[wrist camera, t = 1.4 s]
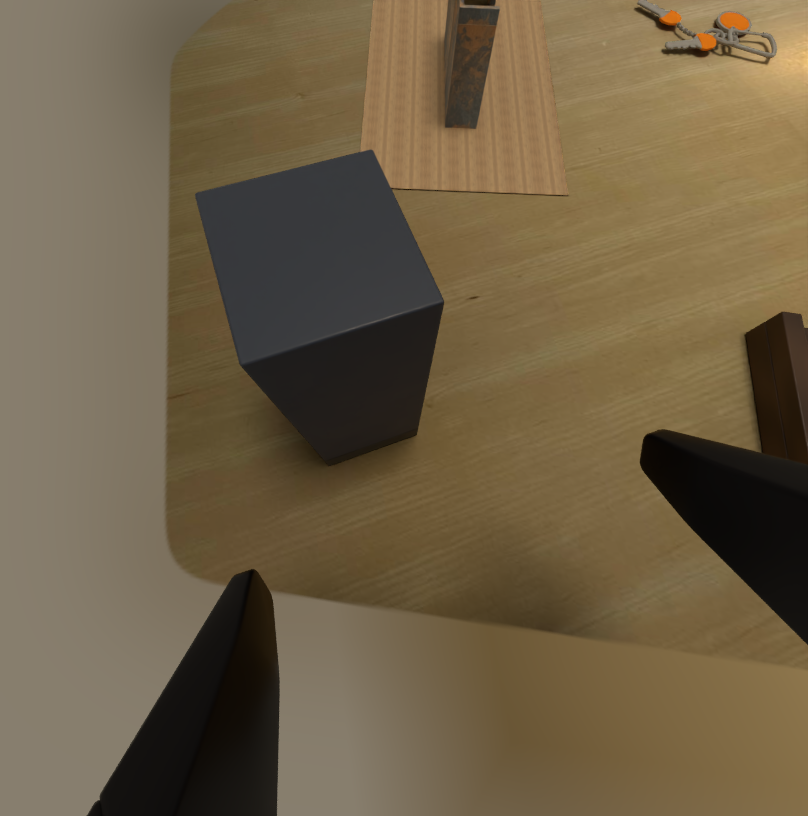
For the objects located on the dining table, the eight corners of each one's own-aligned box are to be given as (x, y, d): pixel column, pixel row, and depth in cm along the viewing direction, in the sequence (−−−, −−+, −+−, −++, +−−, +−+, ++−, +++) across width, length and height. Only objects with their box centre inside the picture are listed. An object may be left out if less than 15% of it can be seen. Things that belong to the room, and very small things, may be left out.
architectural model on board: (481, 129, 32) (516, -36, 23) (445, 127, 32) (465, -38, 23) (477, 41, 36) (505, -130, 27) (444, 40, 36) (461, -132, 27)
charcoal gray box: (417, 435, 24) (445, 301, 10) (328, 466, 23) (239, 366, 10) (364, 302, 27) (335, 67, 13) (284, 326, 26) (170, 103, 13)
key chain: (767, 21, 38) (775, 9, 37) (775, 69, 35) (784, 58, 35) (635, 0, 38) (640, -11, 38) (634, 47, 36) (640, 36, 35)
